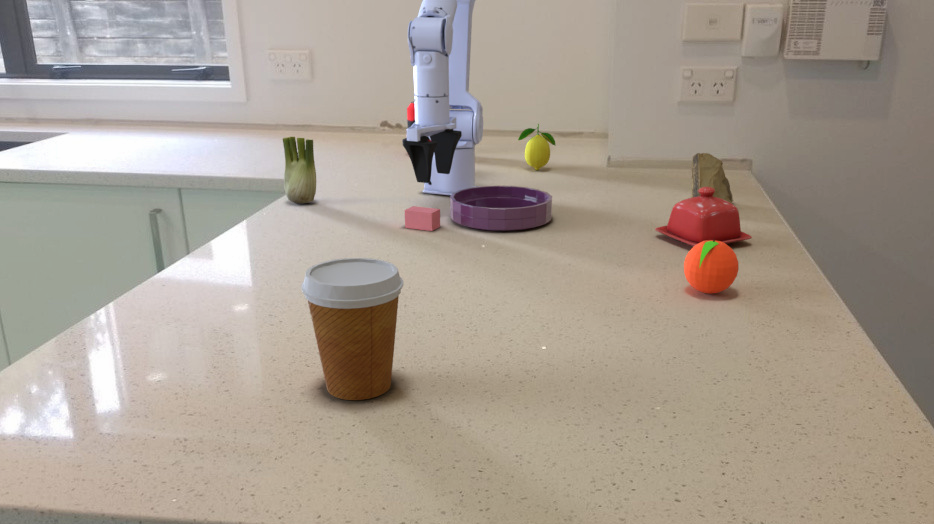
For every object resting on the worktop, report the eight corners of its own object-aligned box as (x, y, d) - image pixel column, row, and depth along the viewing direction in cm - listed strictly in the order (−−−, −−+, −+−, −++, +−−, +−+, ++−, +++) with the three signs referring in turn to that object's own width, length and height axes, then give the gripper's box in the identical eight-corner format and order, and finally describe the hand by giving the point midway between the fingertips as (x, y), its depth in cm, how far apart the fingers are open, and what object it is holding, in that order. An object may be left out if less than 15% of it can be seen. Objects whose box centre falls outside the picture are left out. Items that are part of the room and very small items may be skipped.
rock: (723, 185, 159) (675, 180, 157) (745, 154, 152) (696, 148, 150) (737, 230, 154) (688, 226, 151) (761, 200, 147) (710, 195, 144)
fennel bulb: (321, 203, 153) (316, 136, 149) (299, 207, 150) (293, 140, 146) (303, 198, 157) (298, 133, 153) (280, 202, 154) (274, 136, 149)
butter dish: (697, 254, 125) (702, 198, 122) (650, 235, 135) (654, 183, 132) (755, 245, 130) (762, 191, 127) (706, 227, 140) (711, 176, 137)
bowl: (433, 226, 139) (433, 202, 138) (475, 203, 154) (475, 182, 153) (530, 237, 133) (531, 213, 132) (564, 213, 148) (565, 191, 147)
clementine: (722, 307, 105) (729, 252, 102) (670, 297, 108) (675, 243, 105) (742, 289, 111) (748, 237, 108) (692, 280, 114) (697, 229, 112)
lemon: (517, 171, 181) (518, 124, 178) (526, 166, 186) (527, 121, 183) (546, 174, 179) (548, 126, 175) (555, 169, 184) (556, 123, 180)
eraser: (405, 227, 138) (404, 210, 137) (413, 223, 141) (413, 206, 140) (432, 231, 136) (431, 213, 135) (440, 226, 139) (440, 209, 138)
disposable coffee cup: (316, 367, 87) (306, 257, 83) (408, 365, 88) (404, 255, 83) (303, 410, 78) (292, 288, 74) (406, 407, 79) (401, 286, 75)
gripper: (433, 101, 130) (435, 188, 135) (472, 91, 142) (472, 171, 147) (393, 99, 132) (397, 184, 138) (434, 89, 145) (436, 168, 150)
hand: (433, 177), depth 143 cm, fingers open, 7 cm apart
